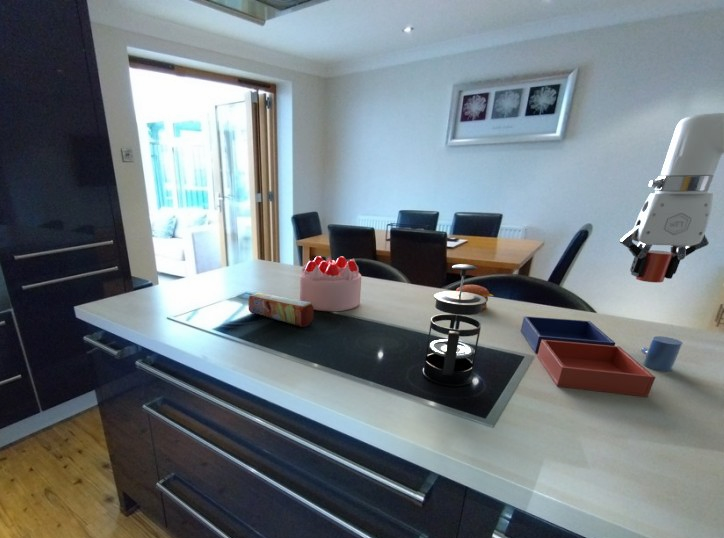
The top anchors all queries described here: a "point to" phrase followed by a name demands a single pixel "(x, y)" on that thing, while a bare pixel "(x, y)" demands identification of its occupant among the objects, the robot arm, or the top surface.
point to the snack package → (282, 309)
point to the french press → (453, 336)
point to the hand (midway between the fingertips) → (650, 275)
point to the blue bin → (562, 331)
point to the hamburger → (476, 292)
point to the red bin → (594, 368)
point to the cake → (331, 284)
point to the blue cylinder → (661, 353)
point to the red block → (656, 266)
